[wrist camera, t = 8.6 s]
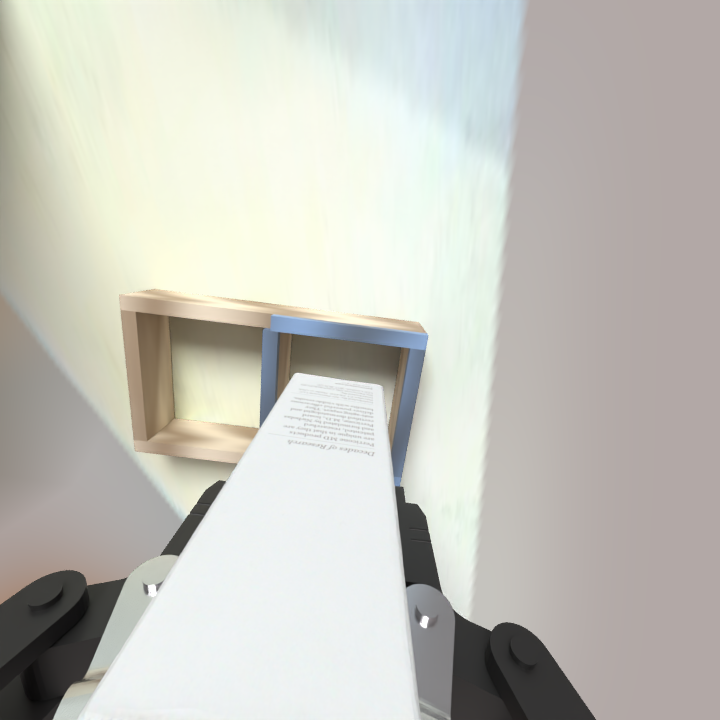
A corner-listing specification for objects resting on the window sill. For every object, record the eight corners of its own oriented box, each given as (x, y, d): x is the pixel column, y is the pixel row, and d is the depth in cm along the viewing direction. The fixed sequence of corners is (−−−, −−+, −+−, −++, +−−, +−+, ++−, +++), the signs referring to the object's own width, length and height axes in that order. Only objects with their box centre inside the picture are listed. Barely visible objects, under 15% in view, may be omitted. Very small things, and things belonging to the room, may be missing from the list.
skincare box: (367, 490, 17) (359, 990, 5) (283, 478, 17) (97, 959, 5) (387, 380, 15) (440, 787, 4) (293, 366, 15) (40, 736, 3)
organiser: (163, 427, 23) (129, 456, 20) (154, 289, 20) (112, 295, 17) (395, 455, 23) (399, 488, 20) (418, 322, 20) (428, 335, 17)
